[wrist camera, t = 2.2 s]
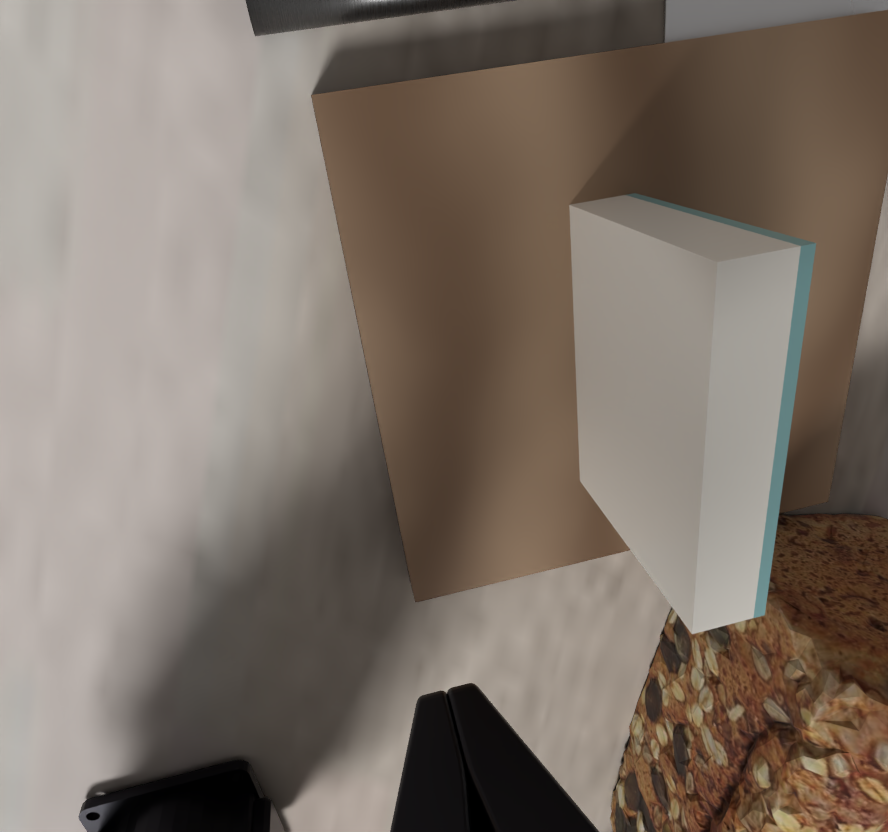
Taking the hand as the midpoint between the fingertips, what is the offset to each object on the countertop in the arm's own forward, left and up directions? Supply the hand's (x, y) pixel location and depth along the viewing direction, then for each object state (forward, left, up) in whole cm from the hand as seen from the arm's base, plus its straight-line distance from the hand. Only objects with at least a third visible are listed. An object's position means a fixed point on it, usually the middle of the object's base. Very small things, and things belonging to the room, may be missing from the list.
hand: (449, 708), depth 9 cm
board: (+8, 0, -12) cm, 14 cm away
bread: (+14, -18, -12) cm, 26 cm away
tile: (+7, 0, -11) cm, 13 cm away
